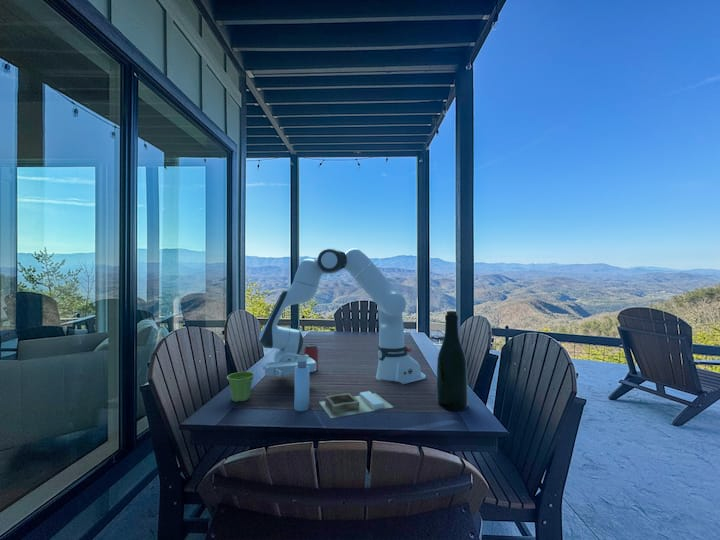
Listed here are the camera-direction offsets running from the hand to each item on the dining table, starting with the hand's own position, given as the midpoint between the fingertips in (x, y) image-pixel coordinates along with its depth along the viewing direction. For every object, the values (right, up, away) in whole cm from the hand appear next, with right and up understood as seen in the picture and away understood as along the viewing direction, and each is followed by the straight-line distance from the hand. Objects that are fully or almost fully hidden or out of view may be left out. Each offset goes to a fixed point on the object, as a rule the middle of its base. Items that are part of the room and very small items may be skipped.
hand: (294, 372), depth 121 cm
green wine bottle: (+57, -9, -9) cm, 59 cm away
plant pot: (-19, -9, -3) cm, 21 cm away
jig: (+23, -8, -11) cm, 27 cm away
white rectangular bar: (+29, -7, -9) cm, 31 cm away
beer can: (+1, -10, +34) cm, 35 cm away
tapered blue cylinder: (+5, -8, -11) cm, 15 cm away
